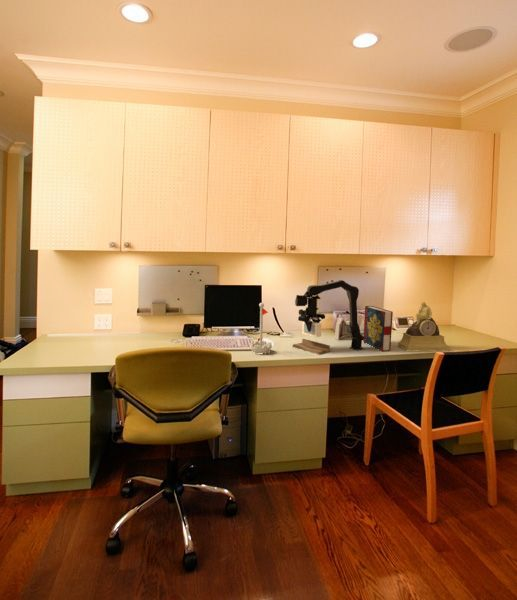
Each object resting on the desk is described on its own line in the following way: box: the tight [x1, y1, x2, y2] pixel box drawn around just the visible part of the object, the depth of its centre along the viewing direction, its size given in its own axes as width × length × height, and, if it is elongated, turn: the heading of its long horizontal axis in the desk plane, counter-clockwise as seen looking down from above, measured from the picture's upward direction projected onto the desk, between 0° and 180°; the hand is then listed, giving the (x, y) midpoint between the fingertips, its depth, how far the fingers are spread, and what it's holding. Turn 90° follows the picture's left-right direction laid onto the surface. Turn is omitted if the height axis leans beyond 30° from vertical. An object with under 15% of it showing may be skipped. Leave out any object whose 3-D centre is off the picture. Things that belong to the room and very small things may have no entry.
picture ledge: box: [292, 338, 331, 355], centre depth 244 cm, size 10×22×4 cm, turn 40°
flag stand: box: [249, 302, 273, 354], centre depth 234 cm, size 13×13×30 cm
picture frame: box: [301, 321, 322, 338], centre depth 243 cm, size 4×12×8 cm, turn 40°
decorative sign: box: [334, 317, 351, 341], centre depth 279 cm, size 23×3×15 cm, turn 141°
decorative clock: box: [397, 301, 451, 352], centre depth 250 cm, size 28×13×30 cm, turn 95°
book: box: [362, 305, 394, 352], centre depth 253 cm, size 25×7×25 cm, turn 14°
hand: (311, 331), depth 243 cm, fingers closed on picture frame, 4 cm apart
